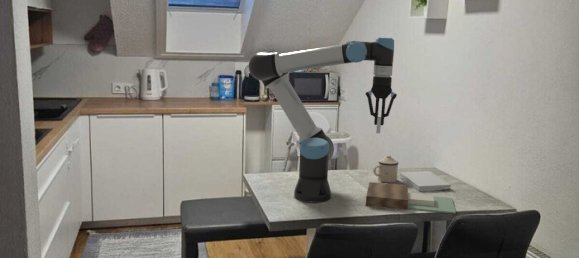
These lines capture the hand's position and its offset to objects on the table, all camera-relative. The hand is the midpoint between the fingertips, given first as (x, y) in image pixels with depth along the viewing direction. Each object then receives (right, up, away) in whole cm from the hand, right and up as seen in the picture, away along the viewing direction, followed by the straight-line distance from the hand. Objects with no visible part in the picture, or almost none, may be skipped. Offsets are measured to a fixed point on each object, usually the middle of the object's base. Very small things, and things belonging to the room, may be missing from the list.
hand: (378, 132), depth 219 cm
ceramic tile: (+16, -28, -7) cm, 33 cm away
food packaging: (+24, -24, +20) cm, 40 cm away
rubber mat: (+19, -29, -8) cm, 35 cm away
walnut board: (+3, -27, -4) cm, 28 cm away
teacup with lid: (+7, -22, +24) cm, 34 cm away
